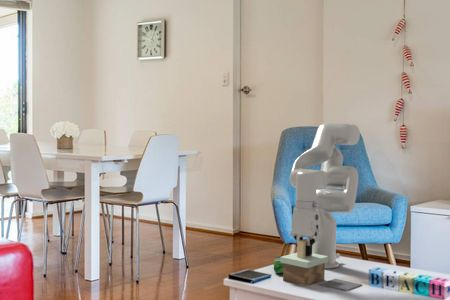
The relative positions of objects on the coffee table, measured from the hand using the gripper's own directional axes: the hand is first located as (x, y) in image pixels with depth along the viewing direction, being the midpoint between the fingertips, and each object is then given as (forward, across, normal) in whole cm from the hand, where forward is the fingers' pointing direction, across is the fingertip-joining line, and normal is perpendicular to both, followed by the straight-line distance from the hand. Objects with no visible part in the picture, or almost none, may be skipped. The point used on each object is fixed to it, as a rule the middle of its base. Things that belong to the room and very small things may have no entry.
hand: (304, 254), depth 210 cm
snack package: (+10, +13, -5) cm, 17 cm away
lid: (+3, 0, 0) cm, 3 cm away
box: (+9, 0, 0) cm, 9 cm away
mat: (+9, -13, -4) cm, 17 cm away
